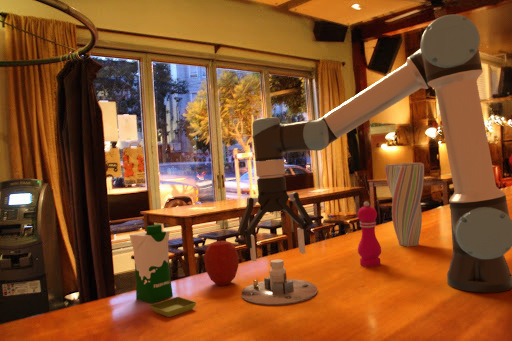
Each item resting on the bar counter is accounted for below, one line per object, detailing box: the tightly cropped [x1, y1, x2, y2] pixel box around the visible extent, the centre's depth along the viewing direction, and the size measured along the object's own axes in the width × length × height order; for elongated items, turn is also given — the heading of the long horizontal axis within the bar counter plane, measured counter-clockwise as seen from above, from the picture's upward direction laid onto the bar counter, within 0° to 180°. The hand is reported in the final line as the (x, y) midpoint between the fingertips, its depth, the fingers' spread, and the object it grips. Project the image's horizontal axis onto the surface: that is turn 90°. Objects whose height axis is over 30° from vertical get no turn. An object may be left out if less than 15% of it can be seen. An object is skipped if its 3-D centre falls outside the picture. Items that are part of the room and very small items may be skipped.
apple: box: [203, 236, 239, 287], centre depth 132 cm, size 10×10×14 cm
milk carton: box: [129, 224, 174, 305], centre depth 123 cm, size 9×9×20 cm
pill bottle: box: [269, 258, 288, 290], centre depth 120 cm, size 4×4×8 cm
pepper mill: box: [357, 201, 382, 268], centre depth 143 cm, size 7×7×20 cm
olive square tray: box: [149, 296, 197, 318], centre depth 112 cm, size 9×9×2 cm
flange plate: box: [241, 276, 318, 306], centre depth 120 cm, size 20×20×4 cm
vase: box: [384, 162, 425, 247], centre depth 167 cm, size 14×14×30 cm
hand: (278, 256), depth 120 cm, fingers open, 13 cm apart
